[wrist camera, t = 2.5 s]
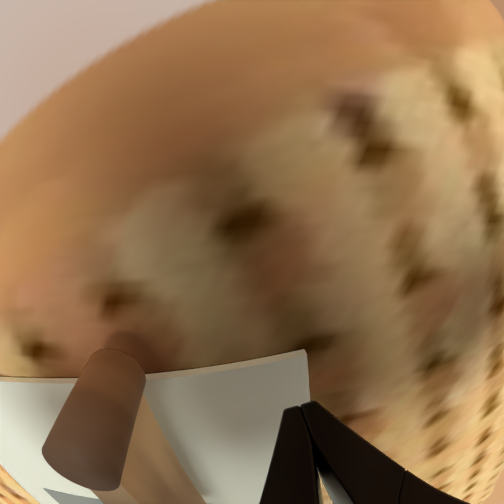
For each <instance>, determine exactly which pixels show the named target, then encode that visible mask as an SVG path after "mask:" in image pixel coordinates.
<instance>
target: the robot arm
mask: <svg viewBox="0 0 504 504" xmlns="http://www.w3.org/2000/svg"><path fill="white" fill-rule="evenodd" d="M318 472H319V473H318ZM319 475H320V477H321V479H322V482H323V484H324V486H325V488H326V490H327V492H328V494H329V496H330V498H331V500H332V502H333V504H470V503H468V502H465V501H463V500H460V499H458V498H455V497H453V496H451V495H449V494H447V493H445V492H443V491H440V490H438V489H436V488H434V487H433V486H431V485H429V484H428V483H426V482H425V481H423V480H421V479H420V478H418V477H417V476H415V475H414V474H412V473H411V472H409V471H408V470H406V471H405V468H403V467H402V466H400V465H399V464H398V463H396V462H395V461H393V460H392V459H391V458H389V457H388V456H386V455H385V454H384V453H382V452H381V451H380V450H378V449H377V448H376V447H374V446H373V445H372V444H370V443H369V442H368V441H366V440H365V439H364V438H362V437H361V436H360V435H358V434H357V433H356V432H354V431H353V430H352V429H350V428H349V427H348V426H347V425H345V424H344V423H343V422H342V421H340V420H339V419H338V418H336V417H335V416H334V415H333V414H331V413H330V412H329V411H328V410H327V409H325V408H324V407H323V406H322V405H320V404H319V403H318V402H317V401H310V402H307V403H303V404H301V405H300V406H298V405H297V406H293V407H289V408H286V409H284V411H283V414H282V418H281V422H280V426H279V431H278V435H277V439H276V443H275V447H274V451H273V455H272V458H271V462H270V466H269V470H268V473H267V477H266V481H265V484H264V488H263V491H262V495H261V498H260V502H259V504H323V498H322V491H321V484H320V479H319Z"/></svg>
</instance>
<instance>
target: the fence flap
mask: <svg viewBox="0 0 504 504" xmlns="http://www.w3.org/2000/svg"><path fill="white" fill-rule="evenodd" d="M145 384H146V376H145V373H144V371H143V369H142V367H141V366H140V364H139V363H138V362H137V361H136V360H135V359H134V358H132V357H131V356H130V355H128V354H126V353H124V352H122V351H119V350H116V349H101V350H98V351H96V352H95V353H93V354H92V356H91V357H90V359H89V360H88V362H87V364H86V366H85V367H84V369H83V371H82V373H81V374H80V376H79V378H78V380H77V381H76V383H75V385H74V387H73V389H72V390H71V392H70V394H69V396H68V398H67V400H66V401H65V403H64V405H63V407H62V409H61V411H60V413H59V415H58V417H57V419H56V421H55V422H54V424H53V426H52V428H51V430H50V432H49V434H48V436H47V438H46V441H45V443H44V445H43V447H42V455H43V457H44V459H45V460H46V462H47V463H48V464H49V465H50V466H51V467H52V468H53V469H54V470H55V471H56V472H57V473H59V474H60V475H61V476H63V477H64V478H66V479H68V480H69V481H71V482H73V483H75V484H77V485H80V486H82V487H85V488H88V489H90V490H91V491H92V492H93V493H94V494H95V495H96V496H97V497H98V498H99V499H100V500H101V501H102V502H103V503H104V504H206V502H205V501H204V499H203V498H202V496H201V495H200V493H199V492H198V490H197V489H196V487H195V486H194V484H193V483H192V481H191V480H190V478H189V477H188V475H187V473H186V472H185V470H184V469H183V467H182V465H181V464H180V462H179V460H178V459H177V457H176V455H175V453H174V452H173V450H172V448H171V447H170V445H169V443H168V441H167V439H166V438H165V436H164V434H163V432H162V430H161V428H160V427H159V425H158V423H157V421H156V419H155V417H154V415H153V413H152V411H151V409H150V407H149V405H148V403H147V401H146V399H145V397H144V395H143V391H144V388H145Z"/></svg>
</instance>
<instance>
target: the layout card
mask: <svg viewBox="0 0 504 504" xmlns="http://www.w3.org/2000/svg"><path fill="white" fill-rule="evenodd" d="M145 376H146V384H145V388H144V391H143V395H144V397H145V399H146V401H147V403H148V405H149V407H150V409H151V411H152V413H153V415H154V417H155V419H156V421H157V423H158V425H159V427H160V428H161V430H162V432H163V434H164V436H165V438H166V439H167V441H168V443H169V445H170V447H171V448H172V450H173V452H174V453H175V455H176V457H177V459H178V460H179V462H180V464H181V465H182V467H183V469H184V470H185V472H186V473H187V475H188V477H189V478H190V480H191V481H192V483H193V484H194V486H195V487H196V489H197V490H198V492H199V493H200V495H201V496H202V498H203V499H204V501H205V502H206V504H259V502H260V498H261V495H262V491H263V488H264V484H265V481H266V477H267V473H268V470H269V466H270V462H271V458H272V455H273V451H274V447H275V443H276V439H277V435H278V431H279V426H280V422H281V418H282V414H283V411H284V409H286V408H289V407H293V406H297V405H298V406H300V405H301V404H303V403H307V402H310V388H309V374H308V361H307V354H306V352H305V349H302V350H297V351H293V352H288V353H283V354H279V355H274V356H269V357H263V358H258V359H253V360H247V361H241V362H236V363H230V364H223V365H217V366H210V367H203V368H196V369H188V370H180V371H171V372H162V373H152V374H145ZM77 380H78V378H19V377H0V464H1V465H2V466H3V468H4V469H5V470H6V471H7V472H8V473H9V474H10V475H11V476H12V477H13V478H14V479H15V480H16V481H17V482H18V483H19V484H20V485H21V486H22V487H23V488H24V489H25V490H26V491H27V492H28V493H29V494H30V495H32V496H33V497H34V498H35V499H36V500H37V501H38V502H39V503H40V504H104V503H103V502H102V501H101V500H100V499H99V498H98V497H97V496H96V495H95V494H94V493H93V492H92V491H91V490H90V489H88V488H85V487H82V486H80V485H77V484H75V483H73V482H71V481H69V480H68V479H66V478H64V477H63V476H61V475H60V474H59V473H57V472H56V471H55V470H54V469H53V468H52V467H51V466H50V465H49V464H48V463H47V462H46V460H45V459H44V457H43V455H42V447H43V445H44V443H45V441H46V438H47V436H48V434H49V432H50V430H51V428H52V426H53V424H54V422H55V421H56V419H57V417H58V415H59V413H60V411H61V409H62V407H63V405H64V403H65V401H66V400H67V398H68V396H69V394H70V392H71V390H72V389H73V387H74V385H75V383H76V381H77Z"/></svg>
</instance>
